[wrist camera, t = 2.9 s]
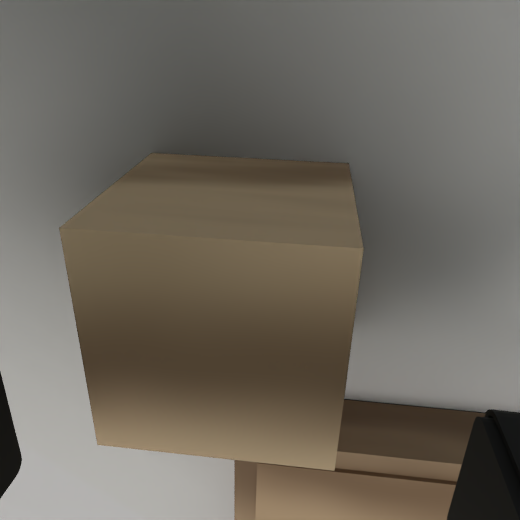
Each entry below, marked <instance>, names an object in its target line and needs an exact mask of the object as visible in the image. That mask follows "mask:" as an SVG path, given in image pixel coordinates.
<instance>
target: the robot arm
mask: <svg viewBox="0 0 520 520" xmlns="http://www.w3.org/2000/svg"><path fill="white" fill-rule="evenodd" d="M21 461H22V458H21V452H20V448H19V444H18V441H17V437H16V433H15V429H14V425H13V421H12V417H11V413H10V409H9V405H8V401H7V397H6V393H5V389H4V385H3V381H2V377H1V373H0V498H1V497H2V495H3V494H4V493H5V491H6V490H7V488H8V487H9V486H10V484H11V483H12V481H13V480H14V479H15V477H16V475H17V474H18V472H19V469H20V466H21ZM447 520H520V413H517V412H508V411H500V410H488V411H487V412H486V414H485V416H484V417H480V416H478V417H476V418H475V420H474V423H473V427H472V430H471V434H470V437H469V441H468V444H467V448H466V452H465V455H464V459H463V462H462V466H461V469H460V473H459V476H458V480H457V483H456V487H455V490H454V494H453V497H452V501H451V504H450V508H449V512H448V516H447Z"/></svg>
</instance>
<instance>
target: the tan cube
mask: <svg viewBox="0 0 520 520" xmlns="http://www.w3.org/2000/svg"><path fill="white" fill-rule="evenodd" d="M59 230H60V235H61V241H62V247H63V252H64V258H65V263H66V269H67V275H68V280H69V286H70V292H71V297H72V303H73V309H74V314H75V320H76V326H77V331H78V337H79V343H80V348H81V354H82V360H83V365H84V371H85V377H86V382H87V388H88V394H89V399H90V405H91V411H92V416H93V422H94V428H95V433H96V439H97V445H104V446H113V447H122V448H131V449H141V450H150V451H159V452H168V453H177V454H186V455H195V456H204V457H213V458H222V459H231V460H241V461H250V462H259V463H268V464H277V465H286V466H295V467H304V468H313V469H322V470H331V471H335V464H336V456H337V448H338V441H339V433H340V425H341V418H342V410H343V402H344V395H345V387H346V379H347V372H348V364H349V357H350V349H351V341H352V334H353V326H354V318H355V311H356V303H357V295H358V288H359V280H360V273H361V265H362V257H363V250H364V248H363V242H362V237H361V231H360V225H359V219H358V214H357V208H356V202H355V196H354V191H353V185H352V179H351V174H350V168H349V163H332V162H312V161H293V160H274V159H255V158H236V157H217V156H198V155H179V154H160V153H151V154H150V155H148V156H147V157H146V158H145V159H144V160H142V161H141V162H140V163H139V164H137V165H136V166H135V167H134V168H132V169H131V170H130V171H129V172H127V173H126V174H125V175H124V176H123V177H121V178H120V179H119V180H118V181H116V182H115V183H114V184H113V185H111V186H110V187H109V188H108V189H107V190H105V191H104V192H103V193H102V194H100V195H99V196H98V197H97V198H95V199H94V200H93V201H92V202H90V203H89V204H88V205H87V206H86V207H84V208H83V209H82V210H81V211H79V212H78V213H77V214H76V215H74V216H73V217H72V218H71V219H70V220H68V221H67V222H66V223H65V224H63V225H62V226H61V227H60V228H59Z"/></svg>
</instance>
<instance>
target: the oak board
mask: <svg viewBox="0 0 520 520" xmlns="http://www.w3.org/2000/svg"><path fill="white" fill-rule="evenodd" d="M485 414H486V413H477V412H466V411H456V410H446V409H436V408H425V407H415V406H405V405H395V404H384V403H374V402H364V401H353V400H344V402H343V410H342V418H341V425H340V433H339V441H338V448H337V456H336V464H335V471H331V470H322V469H313V468H304V467H295V466H286V465H277V464H268V463H259V462H250V461H241V460H235V520H447V516H448V512H449V508H450V504H451V501H452V497H453V494H454V490H455V487H456V483H457V480H458V476H459V473H460V469H461V466H462V462H463V459H464V455H465V452H466V448H467V444H468V441H469V437H470V434H471V430H472V427H473V423H474V420H475V418H476V417H478V416H480V417H484V416H485Z"/></svg>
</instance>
